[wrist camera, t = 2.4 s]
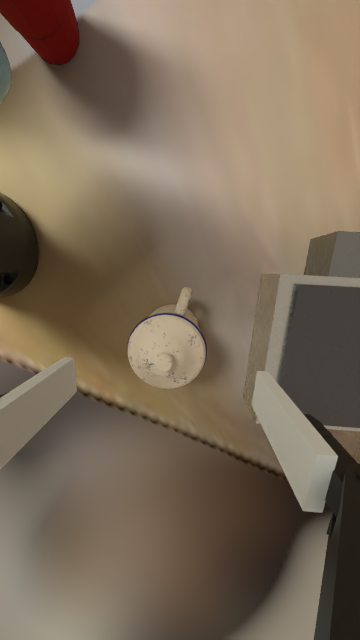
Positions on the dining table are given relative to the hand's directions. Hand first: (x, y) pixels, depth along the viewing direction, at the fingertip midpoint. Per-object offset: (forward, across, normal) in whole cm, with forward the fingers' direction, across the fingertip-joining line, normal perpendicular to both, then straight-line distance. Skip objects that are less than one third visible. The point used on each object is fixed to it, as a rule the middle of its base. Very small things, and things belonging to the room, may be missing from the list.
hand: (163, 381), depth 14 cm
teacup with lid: (+17, 0, 0) cm, 17 cm away
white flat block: (+17, +22, +1) cm, 27 cm away
